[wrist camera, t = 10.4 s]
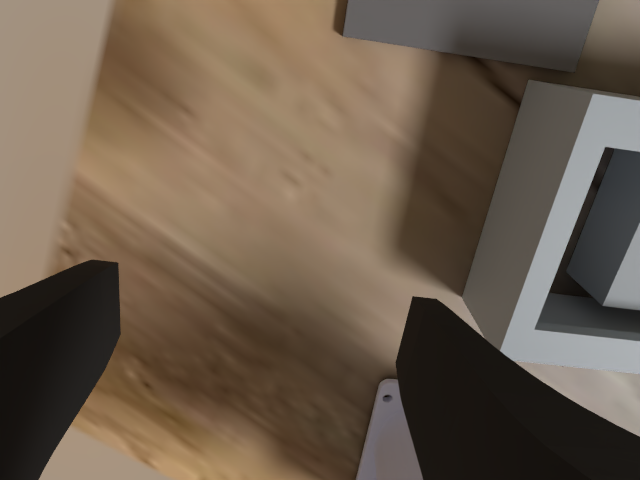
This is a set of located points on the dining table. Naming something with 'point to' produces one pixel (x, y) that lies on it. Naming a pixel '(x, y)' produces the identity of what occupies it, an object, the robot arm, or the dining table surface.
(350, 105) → the dining table surface
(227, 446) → the dining table surface
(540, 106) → the slot box
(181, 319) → the dining table surface
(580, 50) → the mat
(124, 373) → the dining table surface
